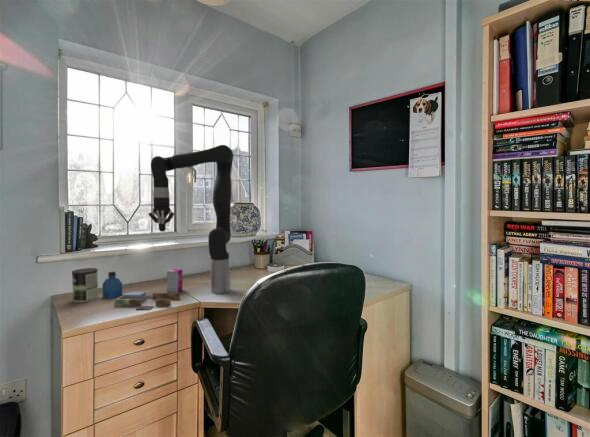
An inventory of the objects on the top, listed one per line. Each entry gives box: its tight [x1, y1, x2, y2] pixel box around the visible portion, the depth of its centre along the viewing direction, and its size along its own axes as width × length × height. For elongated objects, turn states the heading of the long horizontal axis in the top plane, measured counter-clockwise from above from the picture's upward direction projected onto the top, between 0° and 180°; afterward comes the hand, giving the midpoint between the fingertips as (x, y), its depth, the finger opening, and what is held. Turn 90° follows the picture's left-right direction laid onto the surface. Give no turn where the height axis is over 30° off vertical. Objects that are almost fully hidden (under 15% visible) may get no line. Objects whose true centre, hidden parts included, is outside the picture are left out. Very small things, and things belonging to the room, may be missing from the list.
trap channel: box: [114, 292, 181, 311], centre depth 143 cm, size 25×20×3 cm
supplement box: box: [166, 268, 183, 293], centre depth 161 cm, size 6×6×12 cm
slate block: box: [122, 291, 147, 303], centre depth 145 cm, size 8×5×4 cm, turn 87°
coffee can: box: [71, 267, 99, 303], centre depth 148 cm, size 10×10×14 cm
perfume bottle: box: [102, 271, 123, 300], centre depth 153 cm, size 6×6×12 cm
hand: (162, 231), depth 155 cm, fingers closed
